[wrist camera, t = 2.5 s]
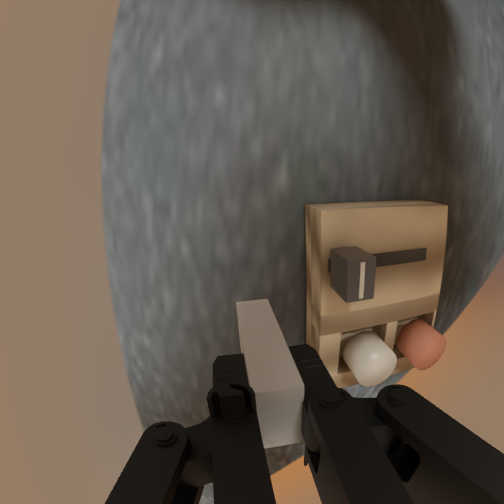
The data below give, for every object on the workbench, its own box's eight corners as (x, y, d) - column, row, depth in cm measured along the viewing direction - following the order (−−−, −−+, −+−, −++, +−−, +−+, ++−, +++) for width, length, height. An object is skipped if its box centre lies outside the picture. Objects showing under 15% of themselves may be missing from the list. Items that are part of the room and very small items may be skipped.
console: (304, 204, 24) (321, 210, 20) (421, 200, 25) (449, 205, 21) (305, 368, 28) (317, 394, 24) (405, 345, 29) (425, 364, 25)
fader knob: (330, 248, 20) (348, 261, 17) (356, 246, 20) (377, 257, 17) (330, 286, 21) (346, 303, 18) (355, 282, 21) (374, 299, 18)
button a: (399, 322, 23) (418, 340, 20) (429, 315, 24) (449, 330, 21) (393, 355, 24) (410, 374, 21) (422, 347, 25) (440, 363, 22)
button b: (344, 334, 23) (359, 355, 20) (381, 326, 23) (400, 345, 20) (340, 368, 24) (354, 390, 21) (376, 360, 24) (392, 380, 21)
